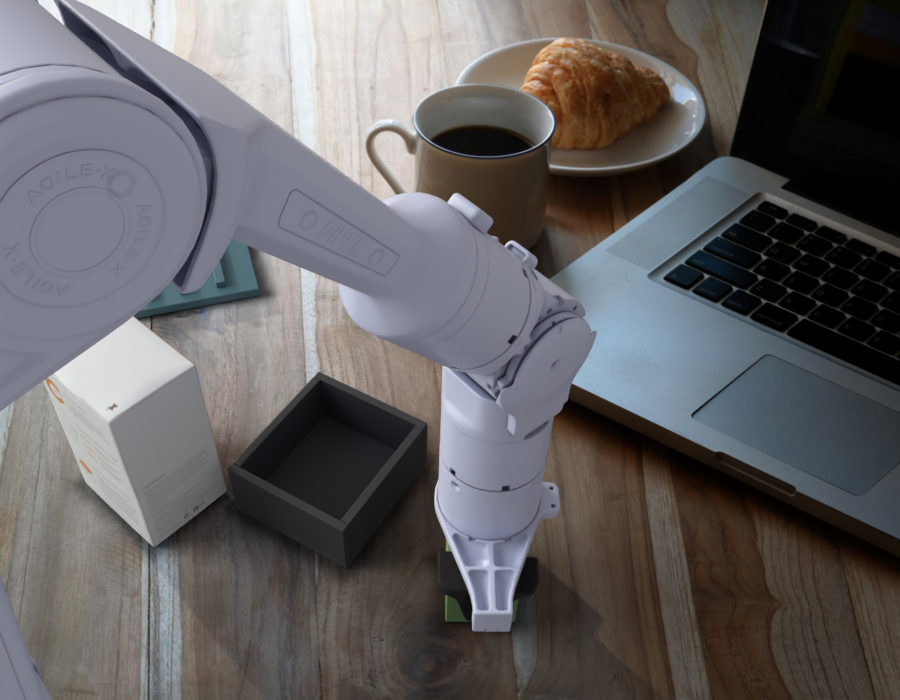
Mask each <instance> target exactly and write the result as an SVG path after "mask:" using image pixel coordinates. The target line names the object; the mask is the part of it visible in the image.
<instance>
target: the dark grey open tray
mask: <svg viewBox="0 0 900 700" xmlns="http://www.w3.org/2000/svg"><path fill="white" fill-rule="evenodd" d="M428 425H429V424H428V422H427V421H424V420H422V419H420V418H418V417H416V416H413V415H412V414H410V413H408V412H406V411H404V410H403V411H402V410H401V409H399V408H397V407H395V406H392V405H390V404H388V403H386V402H384V401H382V400H379V399H378V398H376V397H374V396H372V395H369V394H367V393H365V392H363V391H361V390H359V389H357V388H355V387H353V386H350V385H349V384H345V383H344V382H342V381H340V380H337V379H335V378H333V377H331V376H330V375H327V374H325V373H323V372H320V371H318V372H316V374H314V376H313V377H312V378H311V379H310V380H309V381H308V382H307V383H306V384H305V385H304V386H303V387H302V389H301V390H300V391H299V392H298V393H296V395H295V396H294V397H293V398H292V399H291V400H290V401H289V402H288V403H287V404H286V405H285V407H284V408H282V410H281V411H280V412H279V413H278V414H277V415H276V416H275V417H274V418H273V419H272V421H271V422H269V424H268V425H267V426H266V427H265V428H264V429H263V430H262V431H261V432H260V434H258V436H256V437H255V438H254V439H253V441H252V442H251V443H250V444H249V445H248V446H247V447H246V448H245V449H244V450H243V451H242V452H241V453H240V454H239V456H238V457H237V458H236V459H235V460H234V461H233V462H232V463H231V464H230V466H228V467H227V469H226V472H227V475H228V479H229V484H230V487H231V492H232V495H233V500H234V505H235V508H236V509H237V510H239V511H241V512H242V513H244V514H246V515H248V516H250V517H251V518H253V519H255V520H256V521H259V522H261V523H262V524H264V525H266V526H267V527H269V528H271V529H273V530H275V531H277V532H278V533H280V534H282V535H284V536H286V537H287V538H289V539H291V540H293V541H295V542H297V543H298V544H300V545H302V546H304V547H306V548H307V549H308V550H311V551H313V552H314V553H317V554H318V555H320V556H323V557H324V558H325V559H328V560H329V561H331V562H333V563H334V564H336V565H338V566H339V567H342V568H344V569H346V570H347V569H348V568H349V567H350V566H351V564H352V563H353V562H354V561H355V559H356V557H358V555H359V553H360V552H362V550H363V548H365V545H366V544H367V543H368V542H369V541H370V540H371V538H372V537H373V535H374V534H375V532H376V531H377V530H378V529H379V527H380V526H381V525H382V523H383V521H384V520H385V519H386V518H387V516H388V515H389V514H390V513H391V511H392V510H393V509H394V507H395V506H396V505H397V503H398V502H399V500H400V499H401V498H402V497H403V495H404V494H405V493H406V492H407V490H408V489H409V487H410V486H411V485H412V483H413V482H414V480H416V478H417V476H418V475H419V474H420V472H421V471H422V470H424V469H423V468H424V467H425V466H426V465H427V463H428Z"/></svg>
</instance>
